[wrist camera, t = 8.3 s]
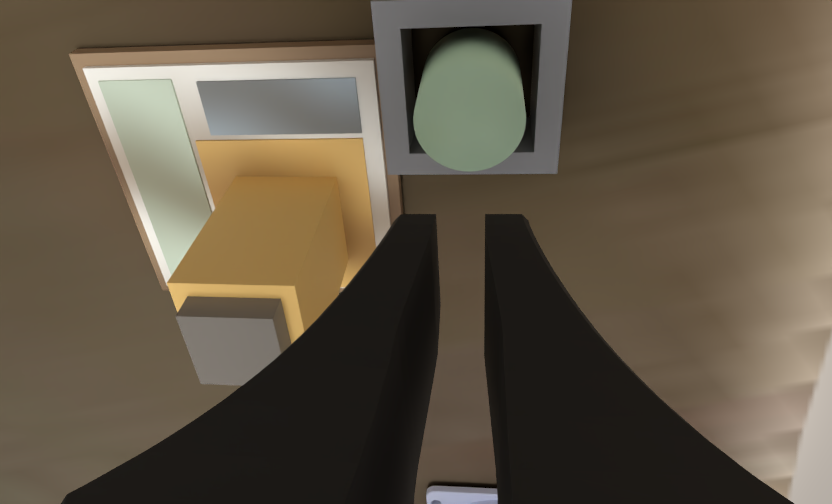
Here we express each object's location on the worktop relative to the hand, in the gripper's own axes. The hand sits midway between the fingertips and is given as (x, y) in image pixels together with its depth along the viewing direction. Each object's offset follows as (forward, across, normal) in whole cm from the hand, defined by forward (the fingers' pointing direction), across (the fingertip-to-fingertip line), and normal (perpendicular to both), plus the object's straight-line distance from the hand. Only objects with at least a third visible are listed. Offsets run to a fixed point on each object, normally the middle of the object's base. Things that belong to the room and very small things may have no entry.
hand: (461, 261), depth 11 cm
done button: (+9, 0, 0) cm, 9 cm away
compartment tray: (+10, +8, +4) cm, 13 cm away
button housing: (+10, 0, 0) cm, 10 cm away
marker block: (+9, +6, +5) cm, 12 cm away
